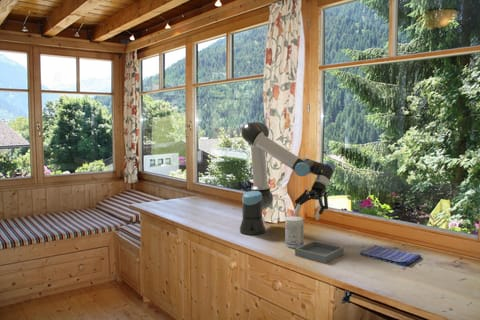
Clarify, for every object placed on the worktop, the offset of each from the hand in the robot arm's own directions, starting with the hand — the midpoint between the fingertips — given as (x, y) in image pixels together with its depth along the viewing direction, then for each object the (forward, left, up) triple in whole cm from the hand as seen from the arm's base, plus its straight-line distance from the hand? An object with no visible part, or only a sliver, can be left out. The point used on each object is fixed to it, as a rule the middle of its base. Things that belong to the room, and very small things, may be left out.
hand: (305, 216), depth 211 cm
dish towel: (+43, +9, -15) cm, 46 cm away
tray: (+16, -12, -14) cm, 25 cm away
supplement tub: (-1, -8, -14) cm, 17 cm away
